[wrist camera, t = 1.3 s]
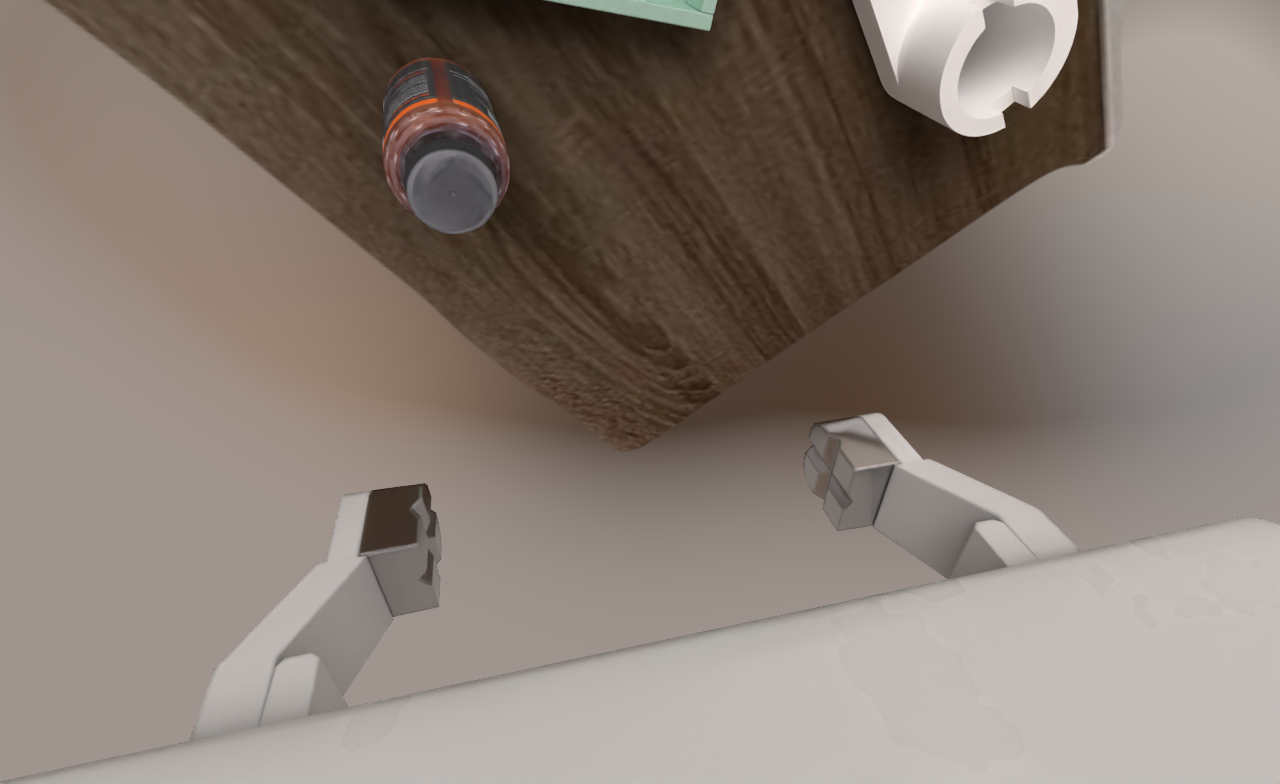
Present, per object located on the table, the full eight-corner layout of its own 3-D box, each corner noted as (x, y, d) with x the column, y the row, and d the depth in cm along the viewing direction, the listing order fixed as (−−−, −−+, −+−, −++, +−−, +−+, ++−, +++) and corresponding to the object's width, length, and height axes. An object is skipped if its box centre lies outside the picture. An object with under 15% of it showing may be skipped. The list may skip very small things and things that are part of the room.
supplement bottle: (367, 131, 35) (358, 221, 27) (407, 30, 32) (410, 96, 24) (466, 179, 38) (485, 272, 30) (509, 91, 35) (542, 166, 27)
